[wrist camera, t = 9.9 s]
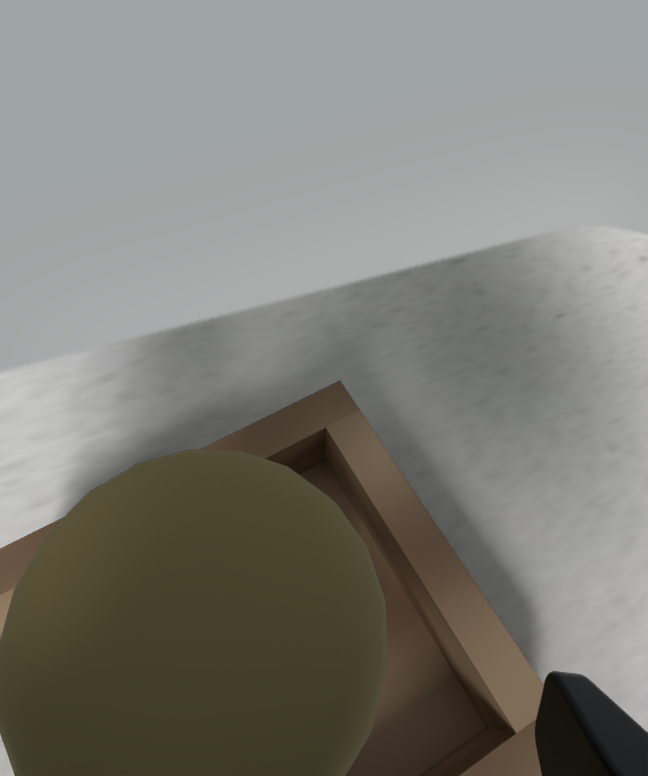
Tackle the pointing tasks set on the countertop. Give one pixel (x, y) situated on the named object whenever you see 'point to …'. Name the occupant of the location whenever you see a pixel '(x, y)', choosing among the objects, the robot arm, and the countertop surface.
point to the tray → (396, 604)
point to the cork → (195, 629)
